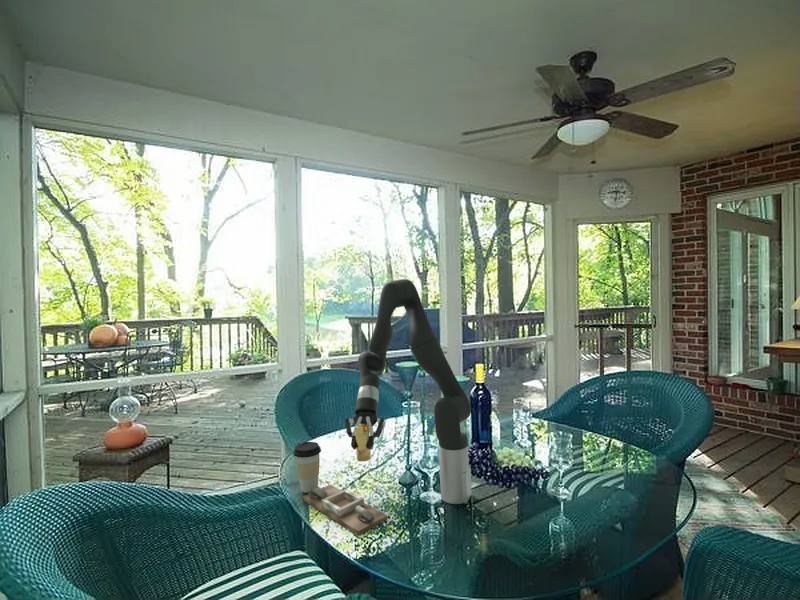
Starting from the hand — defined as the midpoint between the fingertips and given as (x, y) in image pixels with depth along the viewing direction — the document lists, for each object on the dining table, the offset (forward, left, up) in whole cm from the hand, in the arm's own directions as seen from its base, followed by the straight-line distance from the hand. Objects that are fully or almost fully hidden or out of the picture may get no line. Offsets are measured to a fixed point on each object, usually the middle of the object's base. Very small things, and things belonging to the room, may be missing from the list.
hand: (361, 448), depth 147 cm
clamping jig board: (+3, +9, -16) cm, 19 cm away
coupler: (0, -2, -4) cm, 5 cm away
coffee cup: (+21, +1, -16) cm, 26 cm away
